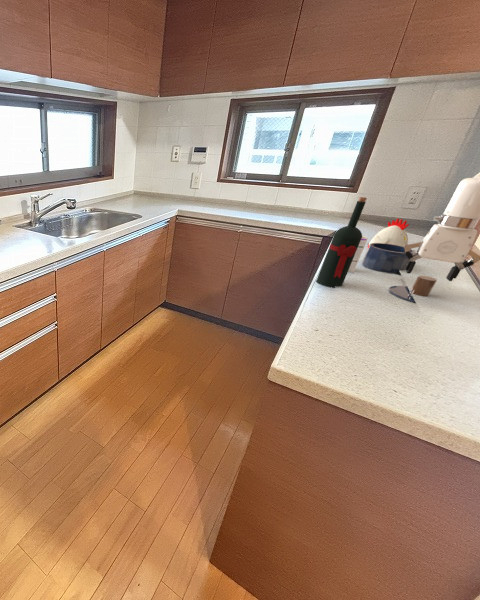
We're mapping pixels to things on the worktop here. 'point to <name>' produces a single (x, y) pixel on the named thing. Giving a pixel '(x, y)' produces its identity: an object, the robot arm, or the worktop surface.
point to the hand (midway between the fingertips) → (427, 275)
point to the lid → (414, 288)
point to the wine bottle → (342, 250)
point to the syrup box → (358, 254)
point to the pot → (386, 258)
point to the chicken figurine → (392, 234)
